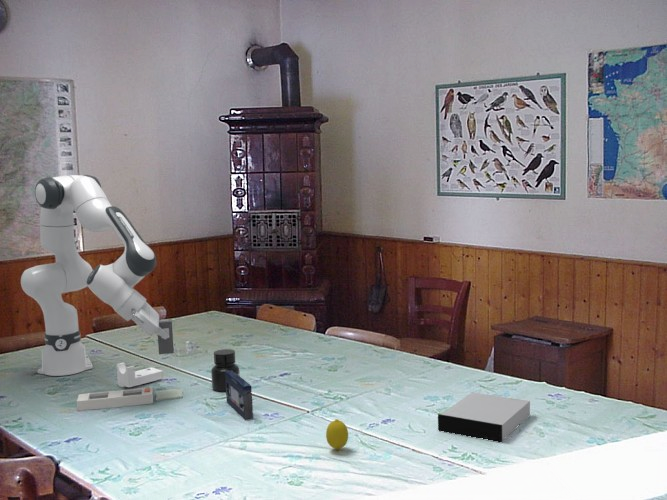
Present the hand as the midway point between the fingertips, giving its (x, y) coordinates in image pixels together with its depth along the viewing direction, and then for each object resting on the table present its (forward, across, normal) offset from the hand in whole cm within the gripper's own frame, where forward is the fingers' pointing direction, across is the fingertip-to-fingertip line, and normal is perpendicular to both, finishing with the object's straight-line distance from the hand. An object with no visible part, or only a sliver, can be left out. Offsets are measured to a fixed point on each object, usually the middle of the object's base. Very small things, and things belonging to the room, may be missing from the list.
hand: (167, 335), depth 238 cm
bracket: (+7, +17, +21) cm, 28 cm away
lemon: (+43, -59, -14) cm, 74 cm away
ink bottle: (+26, +2, +2) cm, 26 cm away
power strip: (+2, -3, +25) cm, 26 cm away
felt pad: (+13, 0, +14) cm, 19 cm away
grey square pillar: (+3, 0, +4) cm, 5 cm away
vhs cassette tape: (+28, -21, 0) cm, 35 cm away
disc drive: (+73, -52, -44) cm, 100 cm away
